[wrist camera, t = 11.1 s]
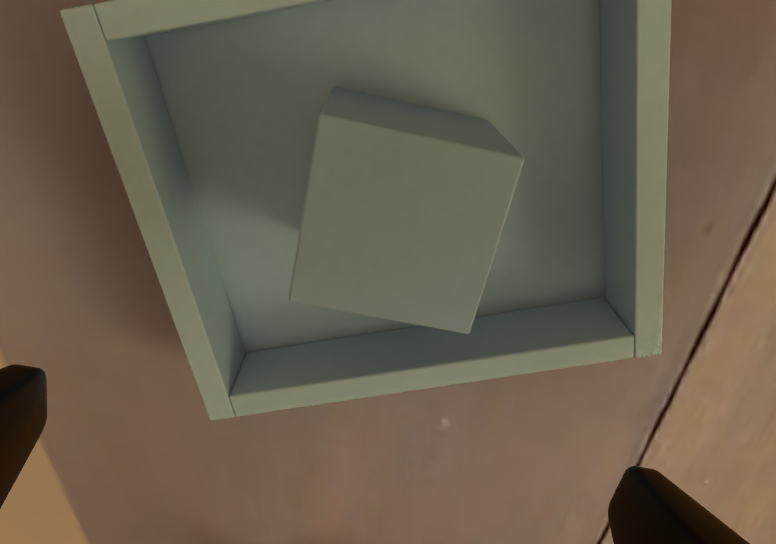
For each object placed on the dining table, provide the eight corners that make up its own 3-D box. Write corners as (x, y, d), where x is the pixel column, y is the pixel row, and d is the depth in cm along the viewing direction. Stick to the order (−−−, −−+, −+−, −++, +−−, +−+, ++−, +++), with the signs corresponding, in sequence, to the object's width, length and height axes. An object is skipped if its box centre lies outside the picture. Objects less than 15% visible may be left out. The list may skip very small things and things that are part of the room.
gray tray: (232, 365, 21) (209, 421, 18) (114, 9, 16) (57, 10, 13) (622, 305, 20) (662, 354, 17) (620, -88, 15) (675, -110, 12)
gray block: (308, 234, 18) (287, 302, 14) (334, 85, 16) (318, 112, 12) (450, 262, 18) (469, 336, 14) (490, 120, 17) (526, 157, 13)
